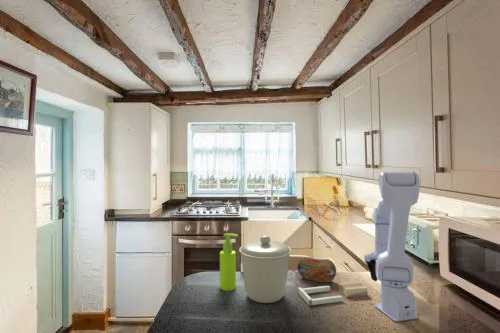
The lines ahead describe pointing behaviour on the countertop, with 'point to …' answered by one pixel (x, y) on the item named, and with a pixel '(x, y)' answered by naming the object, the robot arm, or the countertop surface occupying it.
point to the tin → (317, 269)
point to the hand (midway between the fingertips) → (383, 279)
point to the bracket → (316, 301)
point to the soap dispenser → (228, 264)
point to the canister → (265, 269)
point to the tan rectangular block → (353, 289)
